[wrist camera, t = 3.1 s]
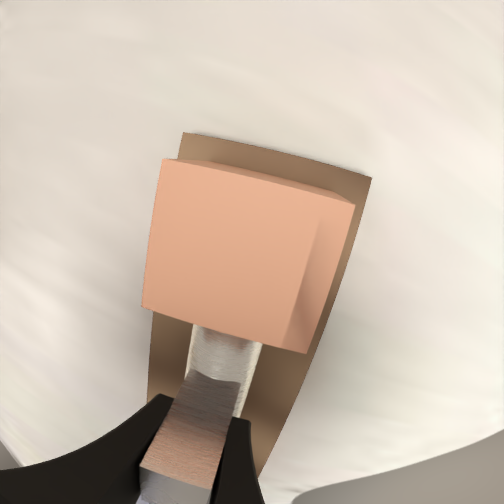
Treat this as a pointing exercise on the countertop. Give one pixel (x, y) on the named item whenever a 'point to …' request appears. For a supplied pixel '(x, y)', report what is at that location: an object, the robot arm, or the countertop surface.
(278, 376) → the walnut board
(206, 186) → the socket
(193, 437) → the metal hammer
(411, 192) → the countertop surface
